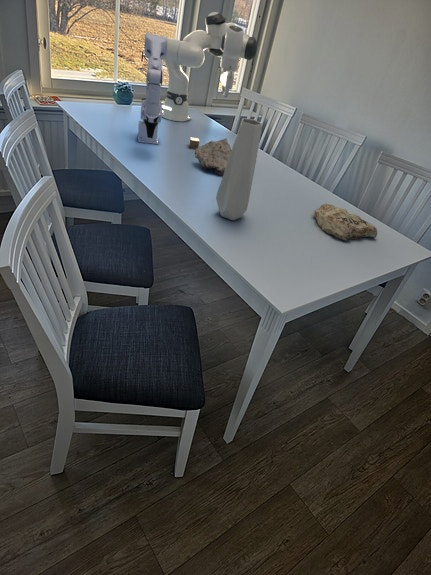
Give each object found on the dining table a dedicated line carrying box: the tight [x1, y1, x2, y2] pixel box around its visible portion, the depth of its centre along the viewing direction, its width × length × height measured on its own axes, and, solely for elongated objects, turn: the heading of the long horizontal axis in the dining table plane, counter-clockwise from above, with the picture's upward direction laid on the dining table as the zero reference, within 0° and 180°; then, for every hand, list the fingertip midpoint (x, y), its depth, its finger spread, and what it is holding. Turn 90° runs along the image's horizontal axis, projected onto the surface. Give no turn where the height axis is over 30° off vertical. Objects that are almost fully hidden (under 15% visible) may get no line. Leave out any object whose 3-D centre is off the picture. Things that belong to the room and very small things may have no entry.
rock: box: [193, 138, 232, 176], centre depth 167 cm, size 15×17×15 cm
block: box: [188, 137, 200, 150], centre depth 188 cm, size 4×4×4 cm
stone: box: [313, 203, 378, 242], centre depth 145 cm, size 19×6×25 cm
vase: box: [215, 117, 263, 221], centre depth 128 cm, size 12×12×33 cm
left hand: (150, 134), depth 165 cm, fingers open, 7 cm apart
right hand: (224, 95), depth 196 cm, fingers open, 8 cm apart
